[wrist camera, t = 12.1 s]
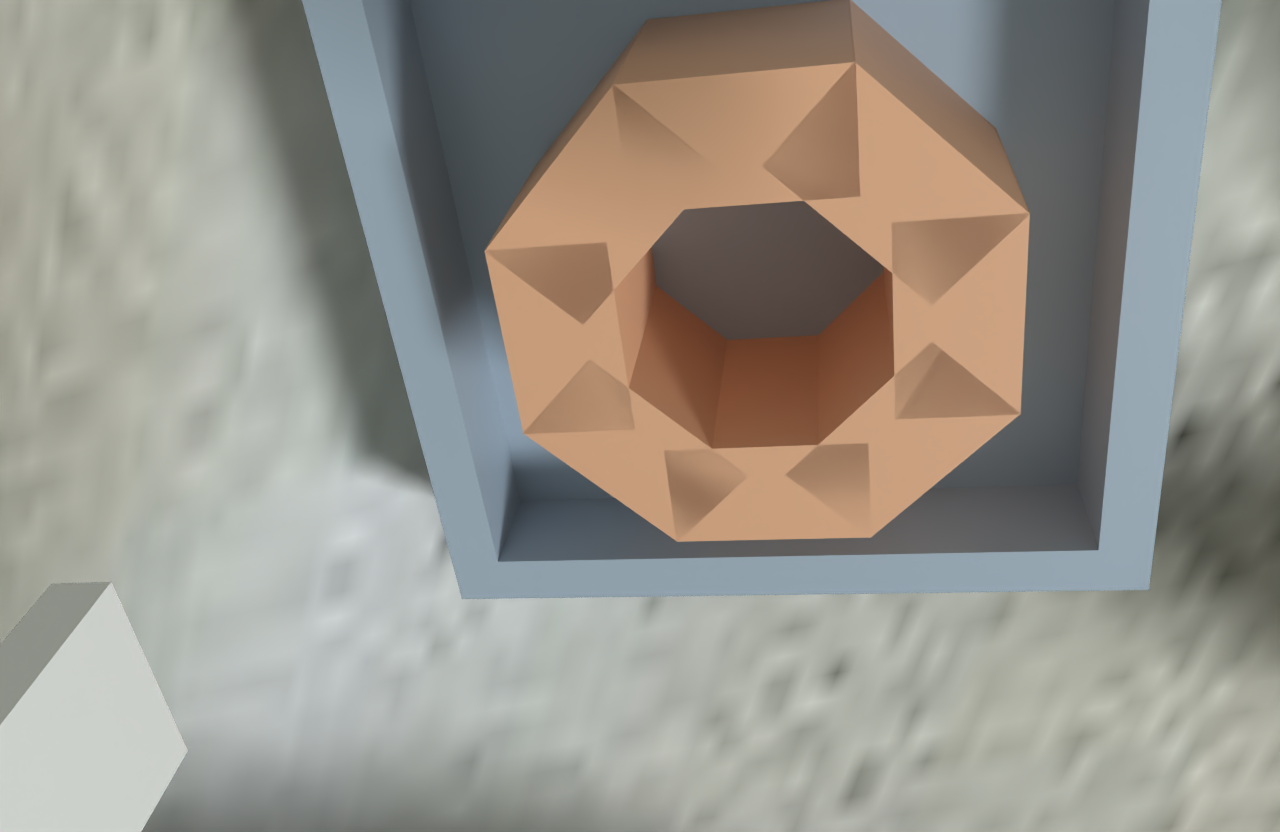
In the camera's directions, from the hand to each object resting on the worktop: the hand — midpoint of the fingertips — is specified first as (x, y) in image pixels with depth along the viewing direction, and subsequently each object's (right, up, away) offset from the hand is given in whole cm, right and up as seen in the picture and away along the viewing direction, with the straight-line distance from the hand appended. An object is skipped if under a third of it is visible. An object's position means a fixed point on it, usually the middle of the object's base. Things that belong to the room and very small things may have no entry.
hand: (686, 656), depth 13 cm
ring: (+2, +6, +9) cm, 11 cm away
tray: (+2, +6, +10) cm, 12 cm away
